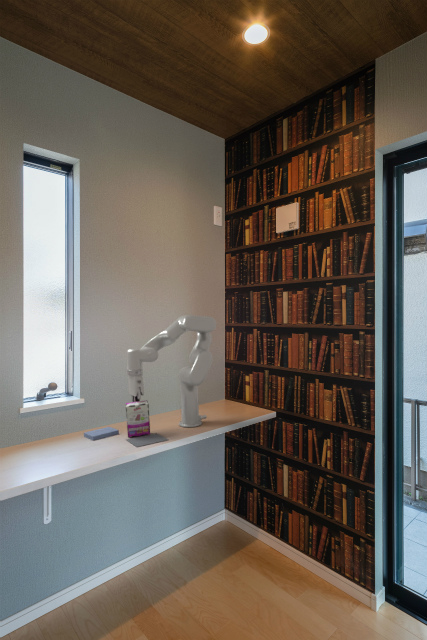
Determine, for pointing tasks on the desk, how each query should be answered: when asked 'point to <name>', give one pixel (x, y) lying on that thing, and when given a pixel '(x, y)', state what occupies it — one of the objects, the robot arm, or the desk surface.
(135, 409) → the candy bar box
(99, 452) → the desk surface
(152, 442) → the mat
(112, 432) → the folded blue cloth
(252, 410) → the desk surface
